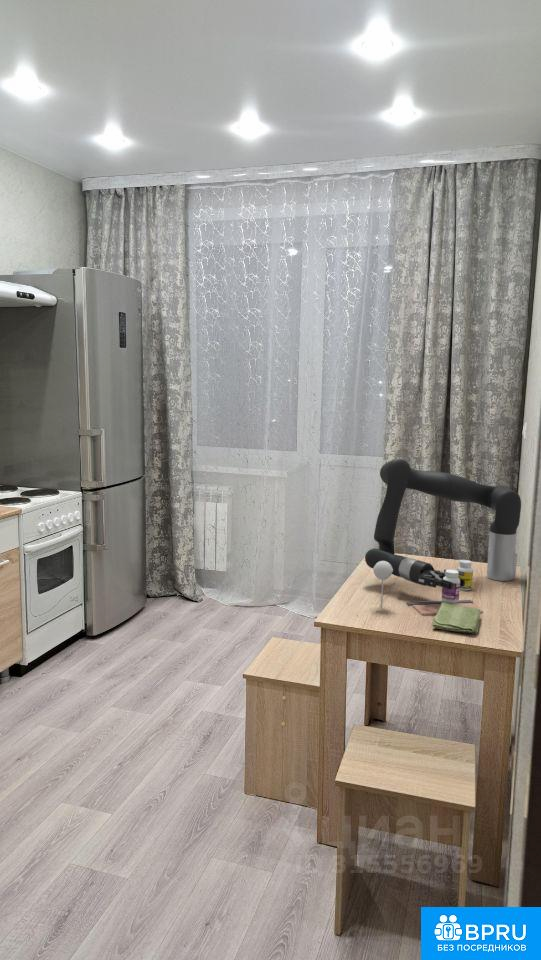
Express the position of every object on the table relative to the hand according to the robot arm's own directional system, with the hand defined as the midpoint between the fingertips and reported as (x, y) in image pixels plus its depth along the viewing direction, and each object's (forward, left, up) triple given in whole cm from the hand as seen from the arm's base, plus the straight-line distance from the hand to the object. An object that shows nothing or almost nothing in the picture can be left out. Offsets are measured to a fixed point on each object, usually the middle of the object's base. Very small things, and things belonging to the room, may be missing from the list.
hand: (458, 584), depth 213 cm
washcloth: (+4, +10, -9) cm, 14 cm away
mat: (+2, -4, -9) cm, 10 cm away
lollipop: (+22, -7, -9) cm, 25 cm away
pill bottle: (+1, -2, -6) cm, 7 cm away
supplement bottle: (-13, -23, -9) cm, 28 cm away
